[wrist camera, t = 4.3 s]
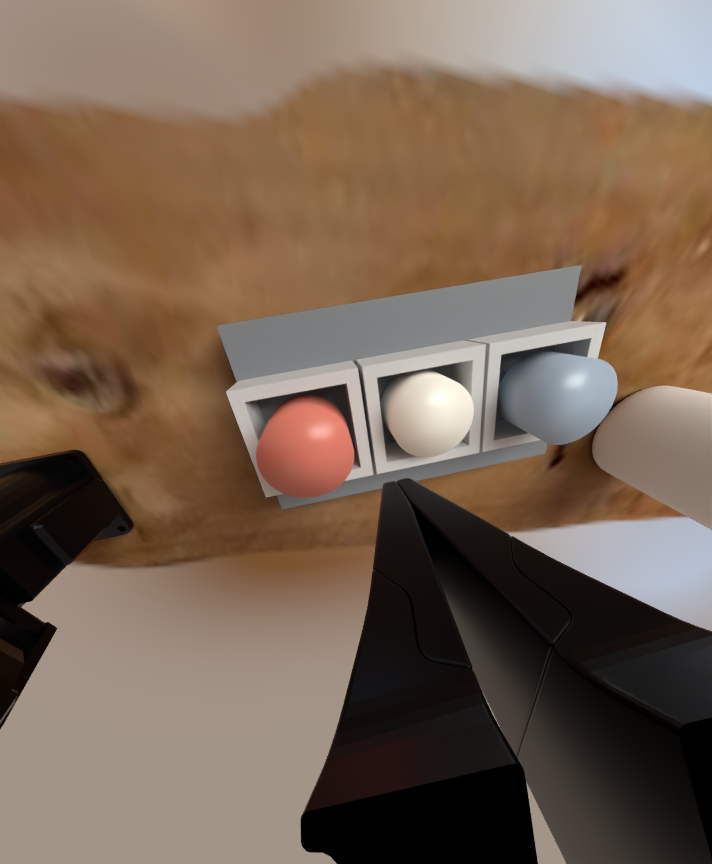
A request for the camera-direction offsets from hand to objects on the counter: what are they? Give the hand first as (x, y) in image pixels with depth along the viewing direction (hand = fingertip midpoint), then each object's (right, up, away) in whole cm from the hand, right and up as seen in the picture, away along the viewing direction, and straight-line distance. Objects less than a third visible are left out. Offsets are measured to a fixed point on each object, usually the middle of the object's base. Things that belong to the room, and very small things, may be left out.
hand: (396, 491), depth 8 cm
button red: (-4, +2, +5) cm, 6 cm away
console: (+2, +5, +9) cm, 10 cm away
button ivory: (+2, +3, +6) cm, 8 cm away
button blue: (+8, +4, +6) cm, 11 cm away
